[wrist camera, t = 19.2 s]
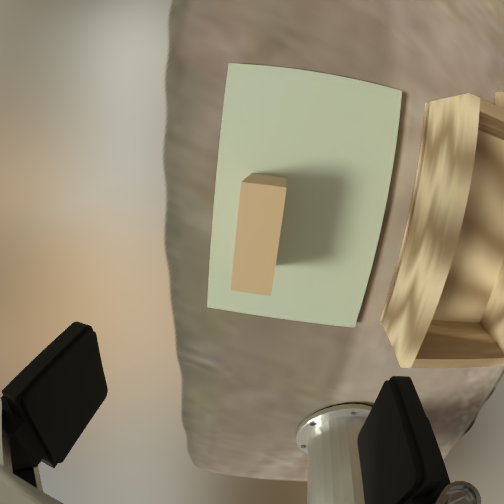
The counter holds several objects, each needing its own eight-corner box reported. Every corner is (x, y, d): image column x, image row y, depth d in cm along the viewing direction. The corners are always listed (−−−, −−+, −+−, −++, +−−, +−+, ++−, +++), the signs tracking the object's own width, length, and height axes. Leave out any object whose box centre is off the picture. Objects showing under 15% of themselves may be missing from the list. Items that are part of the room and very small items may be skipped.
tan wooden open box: (478, 326, 29) (515, 373, 20) (380, 319, 30) (405, 379, 21) (528, 110, 20) (586, 112, 11) (427, 64, 21) (479, 39, 12)
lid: (352, 319, 31) (365, 364, 24) (210, 299, 32) (190, 341, 25) (396, 93, 23) (430, 80, 16) (231, 67, 24) (212, 43, 17)
